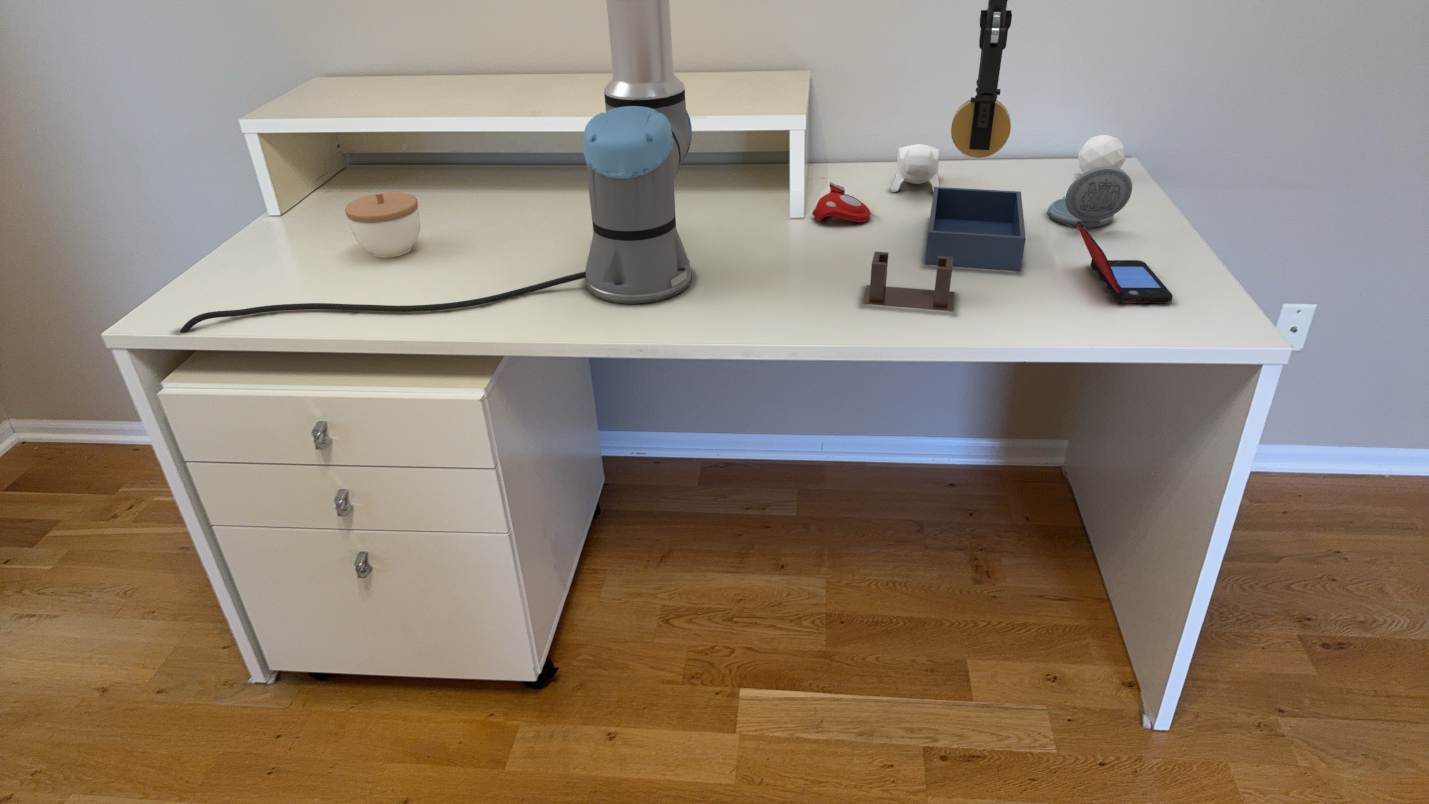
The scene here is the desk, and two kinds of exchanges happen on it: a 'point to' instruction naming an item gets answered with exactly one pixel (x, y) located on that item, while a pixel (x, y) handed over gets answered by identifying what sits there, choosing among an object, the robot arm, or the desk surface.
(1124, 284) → the handheld console
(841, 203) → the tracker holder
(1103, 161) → the geometric ball
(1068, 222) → the pocket watch
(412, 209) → the trinket box
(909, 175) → the white animal figurine
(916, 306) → the holder
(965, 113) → the disc
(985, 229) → the bin
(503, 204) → the desk surface
